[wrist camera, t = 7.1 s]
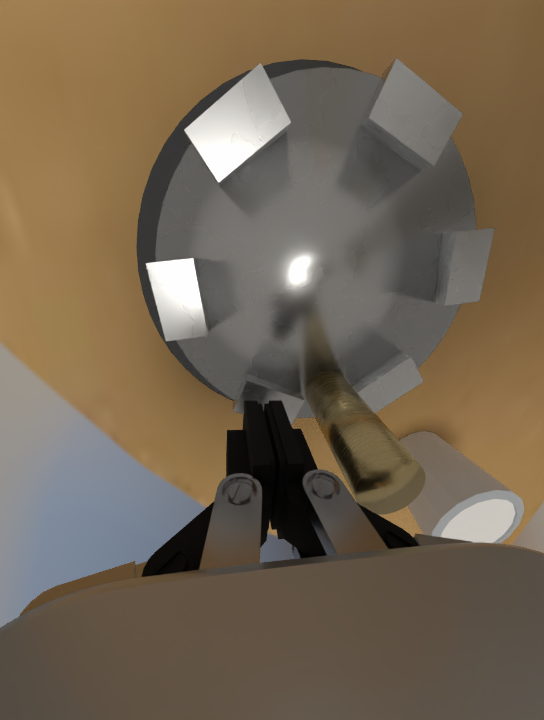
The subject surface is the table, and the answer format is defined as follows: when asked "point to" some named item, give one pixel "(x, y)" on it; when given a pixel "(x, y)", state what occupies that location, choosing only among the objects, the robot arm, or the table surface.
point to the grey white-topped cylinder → (459, 495)
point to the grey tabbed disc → (322, 254)
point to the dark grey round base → (160, 184)
